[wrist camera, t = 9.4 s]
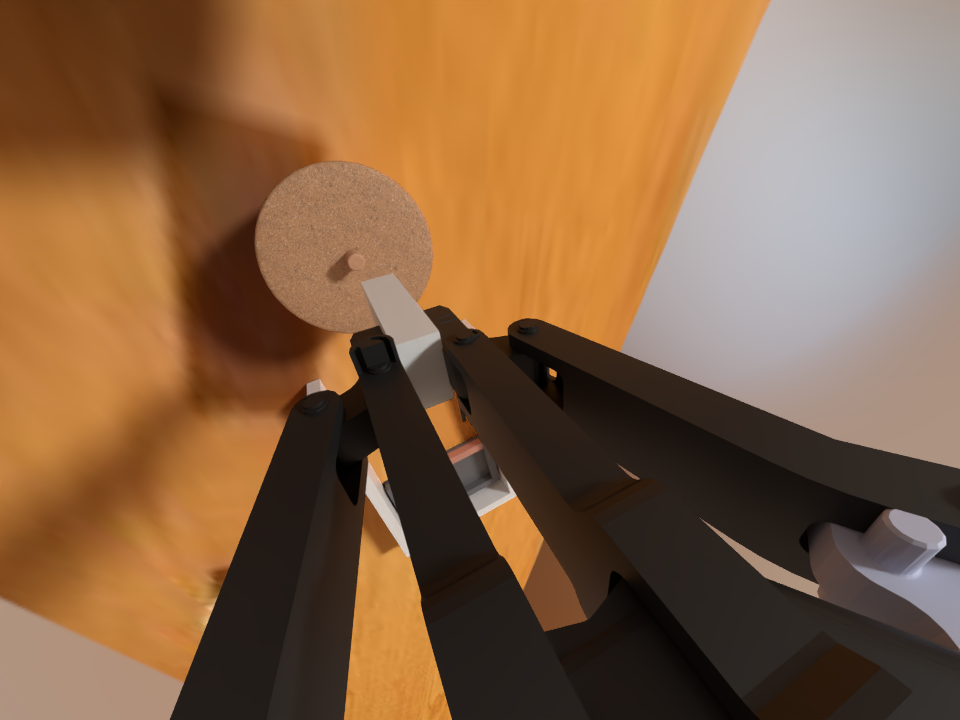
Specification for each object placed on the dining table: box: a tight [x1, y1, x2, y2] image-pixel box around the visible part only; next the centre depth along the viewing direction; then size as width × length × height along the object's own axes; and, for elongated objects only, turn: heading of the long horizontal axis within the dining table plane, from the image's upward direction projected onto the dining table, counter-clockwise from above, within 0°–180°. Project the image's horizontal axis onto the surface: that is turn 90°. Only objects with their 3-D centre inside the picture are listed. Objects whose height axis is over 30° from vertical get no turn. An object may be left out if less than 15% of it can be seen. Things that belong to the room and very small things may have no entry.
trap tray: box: [384, 435, 500, 506], centre depth 45 cm, size 8×13×2 cm, turn 104°
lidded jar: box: [254, 161, 433, 334], centre depth 25 cm, size 11×11×9 cm
